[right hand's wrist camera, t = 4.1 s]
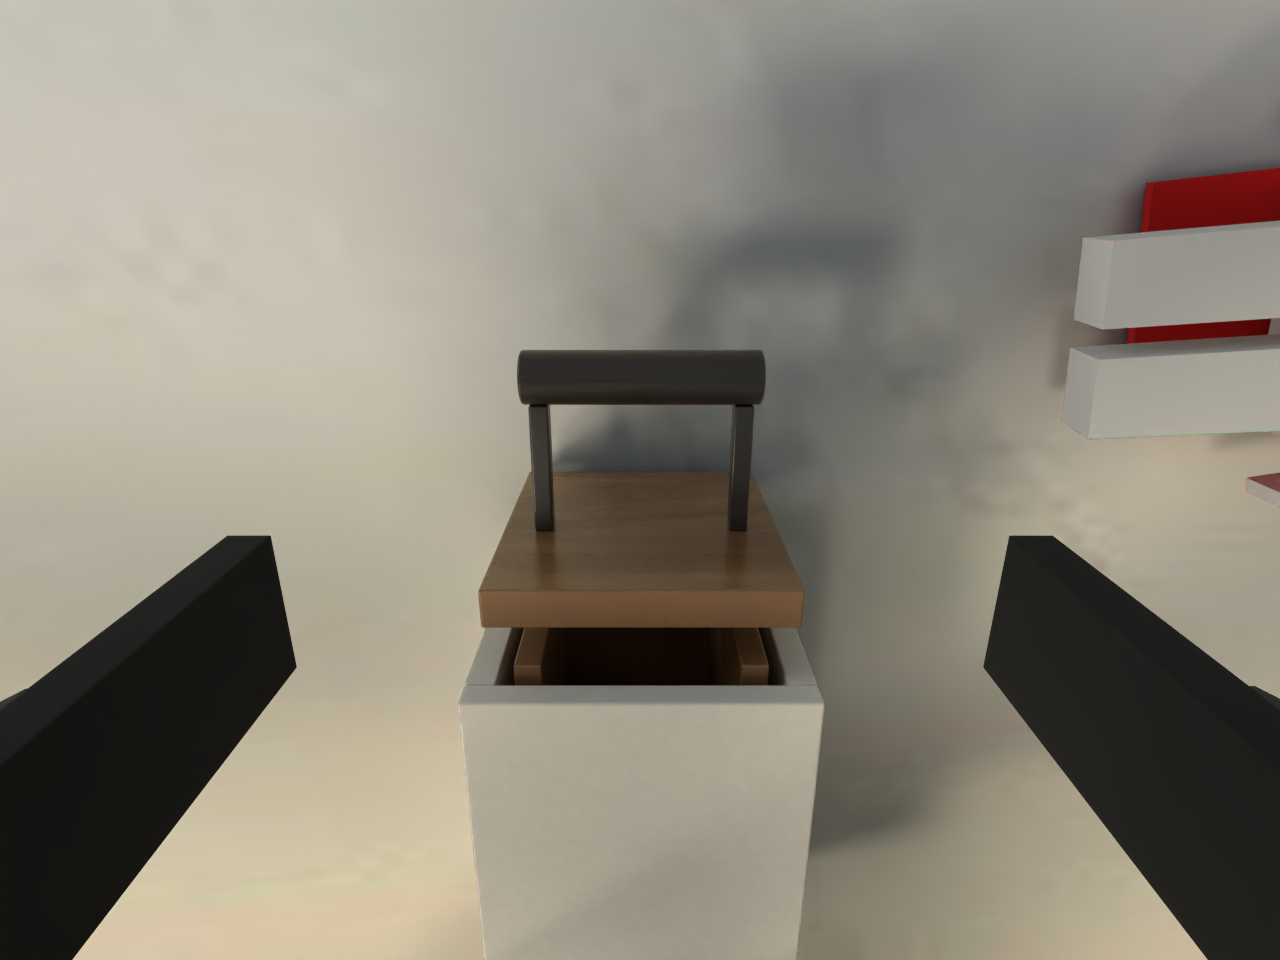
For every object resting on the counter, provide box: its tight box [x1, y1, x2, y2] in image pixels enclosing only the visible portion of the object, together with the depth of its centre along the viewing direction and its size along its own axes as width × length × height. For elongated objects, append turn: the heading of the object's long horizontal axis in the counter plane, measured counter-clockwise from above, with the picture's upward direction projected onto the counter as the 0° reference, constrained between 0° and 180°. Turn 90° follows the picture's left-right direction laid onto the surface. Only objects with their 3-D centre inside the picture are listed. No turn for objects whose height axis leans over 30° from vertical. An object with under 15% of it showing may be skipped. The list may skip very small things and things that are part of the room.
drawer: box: [478, 350, 805, 686], centre depth 26 cm, size 24×9×10 cm, turn 0°
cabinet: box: [458, 628, 825, 960], centre depth 28 cm, size 20×10×12 cm, turn 0°
